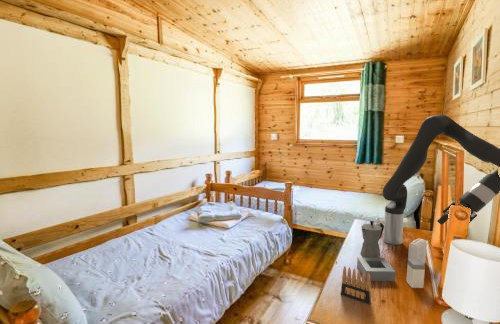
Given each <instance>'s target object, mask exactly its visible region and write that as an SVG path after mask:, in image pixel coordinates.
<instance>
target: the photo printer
mask: <svg viewBox="0 0 500 324" xmlns="http://www.w3.org/2000/svg"><path fill="white" fill-rule="evenodd" d="M427 247H428V243H427V240H426V239H423V238H416V239H414V240H413V241H411V243H409V245H408V255H407V256H408V257H407V260H408V259H419V260H420V261H421V262H422V263H424V264H425V265H426V261H427V260H426V257H427Z"/></svg>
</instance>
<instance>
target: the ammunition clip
mask: <svg viewBox="0 0 500 324" xmlns="http://www.w3.org/2000/svg"><path fill="white" fill-rule="evenodd" d="M371 286H372V281H370V273H368V275H367V281H366V280H365V272H364V271H363V274H361V272H360V270H359V269H358V271H357V272H356V269H355V268H353V270H351V267H350V266H349V267H348V269H347V267H346V266H345V265H344V266H343V269H342V276H341V290H340V296H343V297H346V298H350V299H352V300H356V301H358V302H361V303H364V304H367V305H370V304H371V301H372V296H371V294H372V293H371V291H372V289H371V288H372V287H371Z"/></svg>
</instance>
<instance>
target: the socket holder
mask: <svg viewBox="0 0 500 324" xmlns="http://www.w3.org/2000/svg"><path fill="white" fill-rule="evenodd" d="M356 267H357V269H358V270H360V274H361V275H362V274H363V271H364V272H365V281H366V282H367V275H368V273H370V282H395V283H396V270H395V269H394V268H393V266H391V264H390V263H389V262H388V261H387V259H386V258H385V257H379V258H365V257H363V256H362V257H360V256H359V257H357V259H356Z"/></svg>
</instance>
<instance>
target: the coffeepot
mask: <svg viewBox="0 0 500 324" xmlns="http://www.w3.org/2000/svg"><path fill="white" fill-rule="evenodd" d="M374 222H375V221H373V220H370V221H369V223H363V224H362V225H361V233H362V239H363V242H362V246H361V250H360V254H361V256H362V257H363V258H381V250H380V244H379V241H380V239H382V235H383V233H384V224H383V223H382V222H380V223H376V224H374Z"/></svg>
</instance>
